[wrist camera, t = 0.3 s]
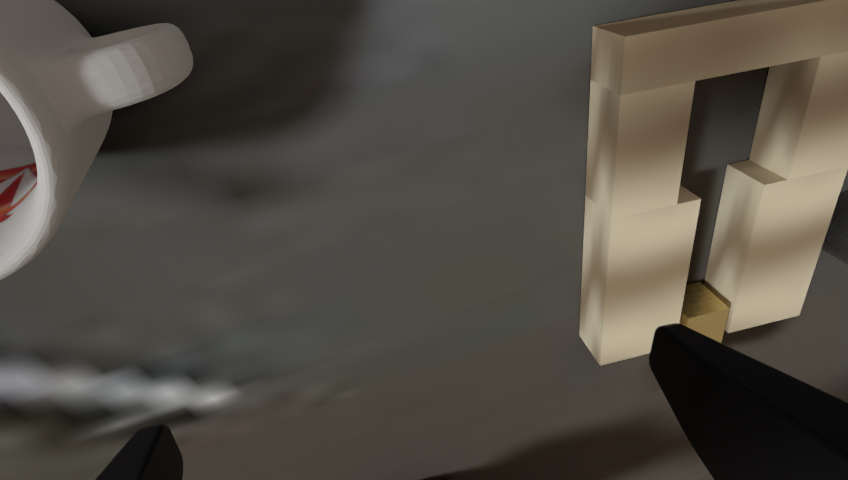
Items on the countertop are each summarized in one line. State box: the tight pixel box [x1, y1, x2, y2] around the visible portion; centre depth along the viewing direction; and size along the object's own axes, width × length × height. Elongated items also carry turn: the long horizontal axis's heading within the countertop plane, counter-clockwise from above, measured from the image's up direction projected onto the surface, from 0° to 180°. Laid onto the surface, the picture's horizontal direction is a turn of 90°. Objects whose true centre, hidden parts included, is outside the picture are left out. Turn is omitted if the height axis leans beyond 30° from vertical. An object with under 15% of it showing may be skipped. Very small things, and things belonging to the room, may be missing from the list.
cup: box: [0, 0, 193, 280], centre depth 15 cm, size 11×8×8 cm
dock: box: [579, 0, 848, 366], centre depth 26 cm, size 17×12×2 cm
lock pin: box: [679, 282, 730, 343], centre depth 29 cm, size 6×3×6 cm, turn 7°
